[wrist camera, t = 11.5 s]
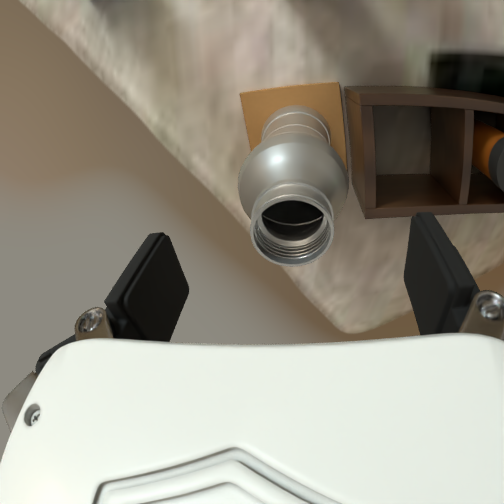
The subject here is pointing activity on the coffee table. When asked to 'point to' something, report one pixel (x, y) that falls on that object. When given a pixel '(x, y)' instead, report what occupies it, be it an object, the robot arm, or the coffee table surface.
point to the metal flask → (293, 187)
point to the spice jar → (489, 152)
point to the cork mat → (309, 95)
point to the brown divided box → (441, 158)
